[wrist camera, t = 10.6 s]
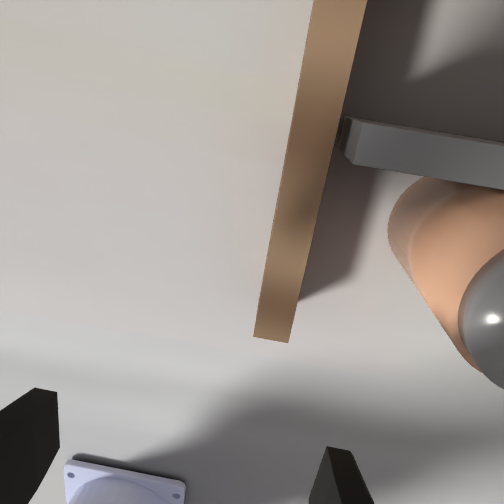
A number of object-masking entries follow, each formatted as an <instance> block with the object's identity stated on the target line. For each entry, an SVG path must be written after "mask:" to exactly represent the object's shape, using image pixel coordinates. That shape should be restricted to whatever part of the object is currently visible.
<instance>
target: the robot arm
mask: <svg viewBox="0 0 504 504" xmlns="http://www.w3.org/2000/svg"><path fill="white" fill-rule="evenodd" d="M59 448H60V440H59V421H58V401H57V392H54V391H49V390H44V389H39V388H34V389H32V390H30V391H29V392H27V393H26V394H24V395H23V396H21V397H20V398H18V399H17V400H15V401H14V402H12V403H11V404H9V405H8V406H7V407H5V408H4V409H2V410H1V411H0V504H28V503H29V501H30V500H31V498H32V497H33V495H34V494H35V492H36V491H37V489H38V487H39V486H40V484H41V482H42V480H43V478H44V476H45V475H46V473H47V471H48V469H49V467H50V465H51V463H52V461H53V459H54V458H55V456H56V454H57V452H58V450H59ZM64 480H65V494H66V504H184V497H185V489H186V486H185V484H184V483H183V482H182V481H179V480H174V479H168V478H163V477H158V476H153V475H148V474H143V473H138V472H133V471H128V470H123V469H118V468H113V467H108V466H103V465H98V464H92V463H87V462H82V461H77V460H68V461H67V462H66V464H65V465H64ZM309 504H374V501H373V499H372V497H371V495H370V493H369V491H368V488H367V486H366V484H365V482H364V480H363V477H362V475H361V473H360V471H359V468H358V466H357V464H356V461H355V459H354V457H353V455H352V453H351V452H350V451H348V450H343V449H338V448H333V447H328V446H327V447H326V450H325V453H324V456H323V459H322V462H321V464H320V467H319V470H318V473H317V476H316V479H315V482H314V485H313V488H312V491H311V494H310V497H309Z"/></svg>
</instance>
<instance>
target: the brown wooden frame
mask: <svg viewBox="0 0 504 504" xmlns="http://www.w3.org/2000/svg"><path fill="white" fill-rule="evenodd" d="M366 3H367V0H314V2H313V8H312V13H311V19H310V24H309V30H308V35H307V41H306V46H305V52H304V57H303V62H302V68H301V73H300V79H299V84H298V90H297V95H296V101H295V106H294V112H293V117H292V123H291V128H290V134H289V139H288V145H287V150H286V155H285V161H284V166H283V172H282V177H281V183H280V188H279V194H278V199H277V205H276V210H275V216H274V221H273V227H272V232H271V238H270V243H269V248H268V254H267V259H266V265H265V270H264V276H263V281H262V287H261V292H260V298H259V304H258V310H257V316H256V323H255V329H254V335H253V337H258V338H263V339H269V340H274V341H279V342H285V343H288V341H289V337H290V333H291V328H292V324H293V320H294V315H295V311H296V307H297V302H298V298H299V294H300V289H301V285H302V281H303V276H304V272H305V268H306V263H307V259H308V255H309V250H310V246H311V242H312V237H313V233H314V229H315V224H316V220H317V216H318V211H319V207H320V203H321V198H322V194H323V190H324V185H325V181H326V177H327V172H328V168H329V164H330V159H331V155H332V151H333V146H334V142H335V138H336V133H337V129H338V125H339V120H340V116H341V112H342V107H343V103H344V99H345V94H346V90H347V86H348V81H349V77H350V73H351V68H352V64H353V60H354V55H355V51H356V47H357V42H358V38H359V34H360V29H361V25H362V21H363V16H364V12H365V8H366Z"/></svg>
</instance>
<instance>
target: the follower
mask: <svg viewBox="0 0 504 504" xmlns="http://www.w3.org/2000/svg"><path fill="white" fill-rule="evenodd" d="M338 149H339V150H340V151H341V152H342V153H343V154H344V155H345V156H346V157H347V158H348V159H349V161H350V162H351V163H352V164H354V165H360V166H366V167H372V168H378V169H384V170H390V171H396V172H402V173H408V174H414V175H419V176H425V177H431V178H437V179H443V180H449V181H455V182H461V183H467V184H473V185H479V186H485V187H490V188H496V189H502V190H504V143H503V142H497V141H491V140H485V139H479V138H473V137H467V136H461V135H455V134H449V133H443V132H437V131H430V130H424V129H418V128H412V127H406V126H400V125H394V124H388V123H382V122H376V121H370V120H364V119H358V118H352V117H346V116H345V119H344V123H343V127H342V132H341V136H340V140H339V144H338Z"/></svg>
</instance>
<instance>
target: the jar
mask: <svg viewBox="0 0 504 504" xmlns="http://www.w3.org/2000/svg"><path fill="white" fill-rule="evenodd" d="M388 239H389V244H390V247H391V250H392V251H393V253H394V255H395V257H396V258H397V260H398V261H399V263H400V264H401V266H402V267H403V269H404V270H405V272H406V273H407V275H408V276H409V278H410V279H411V281H412V282H413V284H414V285H415V287H416V288H417V290H418V291H419V293H420V294H421V296H422V297H423V299H424V300H425V302H426V303H427V305H428V306H429V308H430V309H431V311H432V312H433V314H434V315H435V317H436V318H437V320H438V321H439V323H440V324H441V326H442V327H443V329H444V330H445V332H446V333H447V335H448V336H449V338H450V339H451V341H452V342H453V344H454V345H455V347H456V348H457V350H458V351H459V353H460V354H461V355H462V356H463V358H464V359H465V360H466V361H467V362H468V363H469V364H470V365H471V366H473V367H474V368H476V369H477V370H478V371H480V372H482V373H484V375H485V376H486V377H487V378H488V379H490V380H491V381H492V382H493V383H495V384H496V385H497V386H499V387H501V388H503V389H504V190H502V189H496V188H490V187H485V186H479V185H473V184H467V183H461V182H455V181H449V180H443V179H437V178H431V177H423V178H421V179H419V180H418V181H416V182H415V183H414V184H412V185H411V186H410V187H409V188H408V189H407V190H406V191H405V192H404V193H403V194H402V195H401V196H400V198H399V199H398V201H397V202H396V204H395V206H394V208H393V210H392V212H391V215H390V218H389V223H388Z"/></svg>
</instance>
